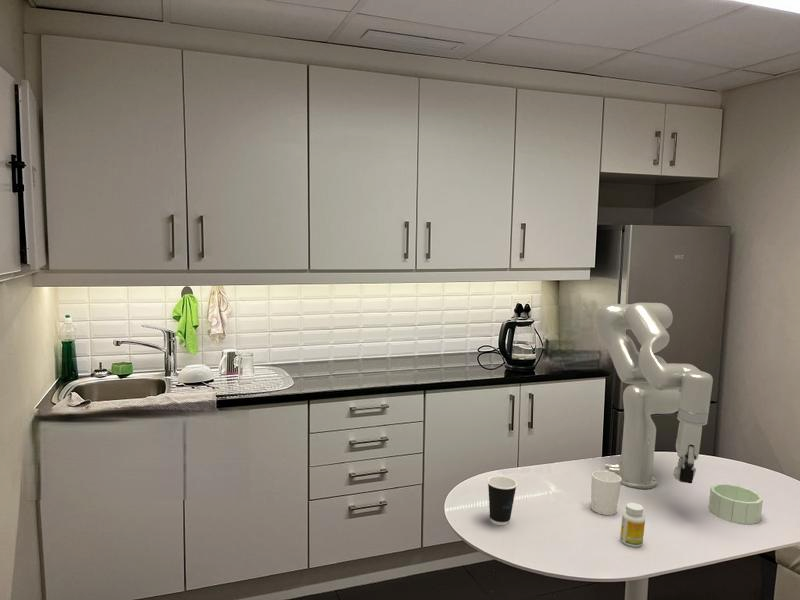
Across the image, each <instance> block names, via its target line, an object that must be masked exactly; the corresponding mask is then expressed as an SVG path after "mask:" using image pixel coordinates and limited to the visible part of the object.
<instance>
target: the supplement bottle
mask: <svg viewBox="0 0 800 600" xmlns="http://www.w3.org/2000/svg"><path fill="white" fill-rule="evenodd" d="M643 513H644V507H643V506H642V505H641V504H639V503H636V502H628V503H627V504H626V506H625V510H624V512H623V513H622V517H621V524H620V525H621V526H620V537H619V538H620V539H619V540H620V542H621V543H622V544H624V545H625V546H628V547H632V548H640V547H641V546H643V541H644V533H645V525H646V518H645V517H646V516H645V515H644V514H643Z"/></svg>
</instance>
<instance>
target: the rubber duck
mask: <svg viewBox="0 0 800 600" xmlns="http://www.w3.org/2000/svg"><path fill="white" fill-rule="evenodd" d="M685 457H686V456H685ZM679 459H680V458H679ZM679 459H678V460H677V461H678V462H677V466H676V467H675V468H674V470H673V474H672V475H673V477H674V479H676V481H679V482H680V480H679V478H680V470H681V467H682V463H683V457H682V458H681V459H680V460H679ZM686 462H687V460H685V463H686ZM696 472H697V468H696V467H694V473H693V479H694V477H695V475H696Z"/></svg>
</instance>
